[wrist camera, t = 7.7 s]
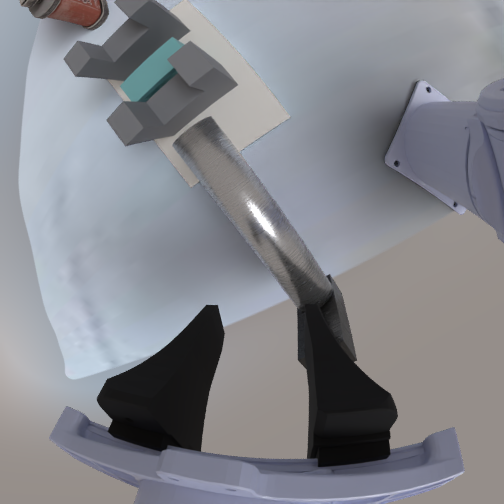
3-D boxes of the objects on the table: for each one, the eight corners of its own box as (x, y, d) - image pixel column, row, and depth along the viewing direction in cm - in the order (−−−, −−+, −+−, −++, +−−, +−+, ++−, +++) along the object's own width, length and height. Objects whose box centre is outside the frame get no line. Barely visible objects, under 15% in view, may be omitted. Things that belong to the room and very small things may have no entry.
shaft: (341, 293, 18) (356, 360, 12) (309, 309, 19) (314, 377, 13) (218, 116, 14) (177, 115, 8) (184, 143, 14) (130, 160, 9)
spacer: (209, 67, 16) (189, 55, 12) (163, 105, 17) (134, 104, 13) (195, 51, 15) (172, 36, 11) (151, 90, 17) (119, 86, 13)
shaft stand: (290, 117, 18) (293, 114, 11) (195, 184, 21) (151, 219, 14) (190, 3, 14) (146, -38, 7) (110, 74, 17) (45, 69, 10)
